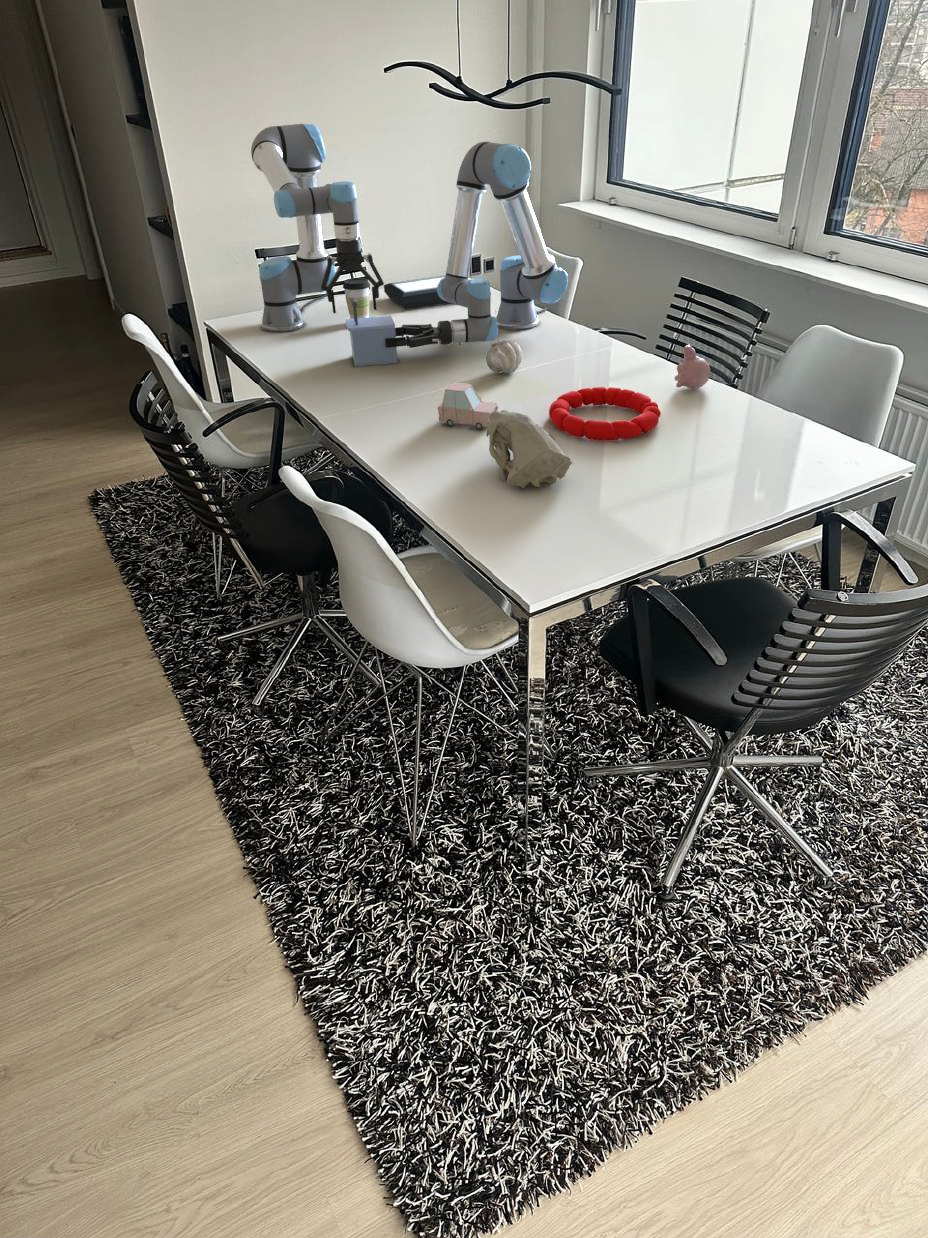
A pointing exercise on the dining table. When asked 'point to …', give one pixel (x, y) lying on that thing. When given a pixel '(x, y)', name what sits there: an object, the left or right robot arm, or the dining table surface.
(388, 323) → the lid
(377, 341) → the chest
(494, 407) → the toy car
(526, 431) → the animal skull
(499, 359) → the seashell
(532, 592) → the dining table surface
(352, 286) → the coffee cup
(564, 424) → the decorative ring
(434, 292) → the electronic device
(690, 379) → the figurine
